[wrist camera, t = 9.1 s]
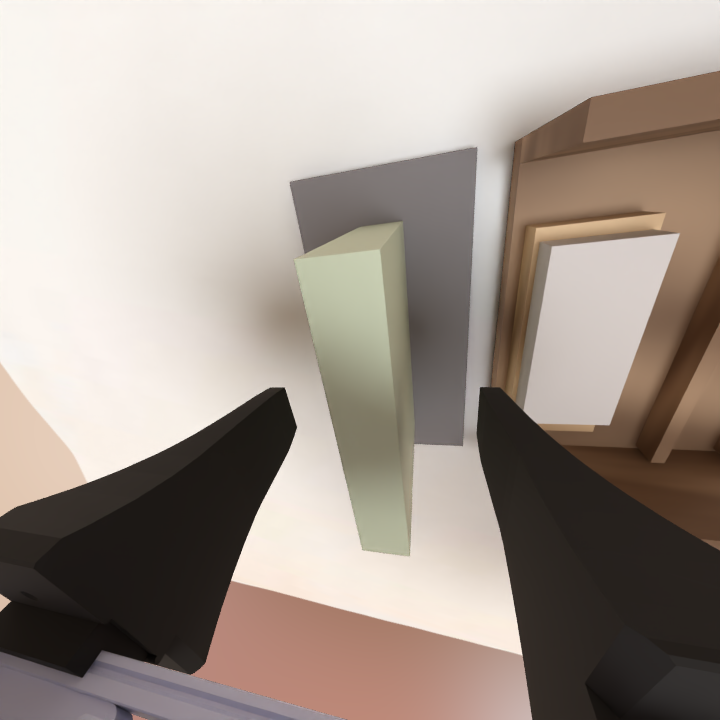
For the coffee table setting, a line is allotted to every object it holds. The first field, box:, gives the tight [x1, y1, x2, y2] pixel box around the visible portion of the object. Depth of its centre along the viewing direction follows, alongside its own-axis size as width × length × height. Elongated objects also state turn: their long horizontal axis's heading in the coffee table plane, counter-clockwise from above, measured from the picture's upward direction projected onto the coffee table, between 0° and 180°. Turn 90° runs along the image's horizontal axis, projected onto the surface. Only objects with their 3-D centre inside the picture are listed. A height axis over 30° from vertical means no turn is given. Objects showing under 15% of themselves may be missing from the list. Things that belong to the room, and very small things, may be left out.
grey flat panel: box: [290, 147, 477, 446], centre depth 16 cm, size 16×8×1 cm, turn 8°
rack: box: [491, 71, 720, 550], centre depth 11 cm, size 16×13×6 cm
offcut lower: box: [505, 211, 666, 432], centre depth 13 cm, size 10×4×1 cm, turn 8°
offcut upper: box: [515, 229, 680, 425], centre depth 12 cm, size 8×4×1 cm, turn 8°
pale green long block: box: [294, 221, 415, 556], centre depth 13 cm, size 12×2×8 cm, turn 8°
